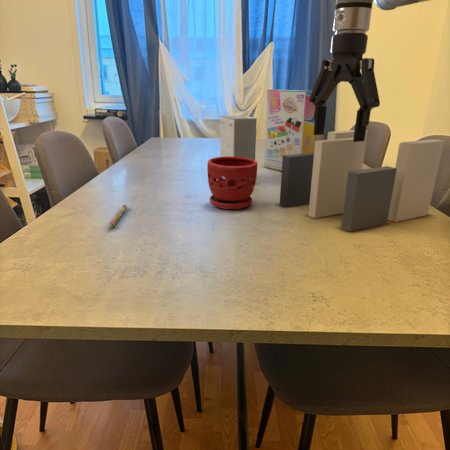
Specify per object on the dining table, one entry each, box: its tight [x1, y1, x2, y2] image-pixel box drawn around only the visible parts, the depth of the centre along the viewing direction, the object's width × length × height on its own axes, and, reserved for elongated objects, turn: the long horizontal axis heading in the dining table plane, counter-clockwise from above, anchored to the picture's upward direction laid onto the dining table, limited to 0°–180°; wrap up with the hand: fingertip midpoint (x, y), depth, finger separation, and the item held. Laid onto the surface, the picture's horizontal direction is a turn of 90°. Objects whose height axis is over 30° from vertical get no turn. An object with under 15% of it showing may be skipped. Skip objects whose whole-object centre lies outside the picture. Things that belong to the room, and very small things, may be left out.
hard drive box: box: [220, 114, 258, 179], centre depth 142 cm, size 16×8×20 cm, turn 17°
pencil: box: [108, 204, 128, 229], centre depth 106 cm, size 1×1×18 cm
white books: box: [326, 129, 445, 223], centre depth 114 cm, size 27×12×18 cm, turn 30°
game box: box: [264, 89, 316, 172], centre depth 155 cm, size 21×6×27 cm, turn 34°
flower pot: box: [206, 156, 258, 210], centre depth 115 cm, size 13×13×12 cm
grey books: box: [279, 152, 397, 233], centre depth 108 cm, size 27×12×13 cm, turn 30°
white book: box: [307, 138, 360, 219], centre depth 107 cm, size 2×12×18 cm, turn 120°
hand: (337, 138), depth 103 cm, fingers open, 13 cm apart
